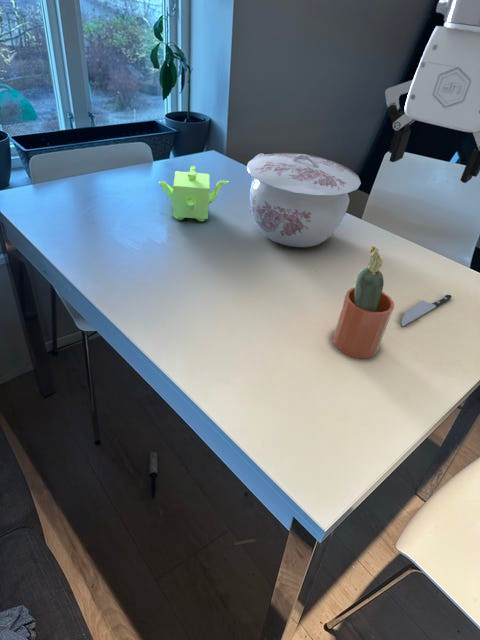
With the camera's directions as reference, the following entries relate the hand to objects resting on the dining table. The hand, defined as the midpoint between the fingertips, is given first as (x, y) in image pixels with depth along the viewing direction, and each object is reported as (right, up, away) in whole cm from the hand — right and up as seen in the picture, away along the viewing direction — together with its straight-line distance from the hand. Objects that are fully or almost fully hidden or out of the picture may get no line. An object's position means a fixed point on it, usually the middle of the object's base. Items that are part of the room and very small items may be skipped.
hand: (429, 169), depth 60 cm
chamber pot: (-12, +2, +57) cm, 58 cm away
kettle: (-38, +8, +61) cm, 73 cm away
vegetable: (-4, -24, +23) cm, 33 cm away
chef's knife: (+13, -18, +35) cm, 41 cm away
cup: (-4, -25, +23) cm, 34 cm away
